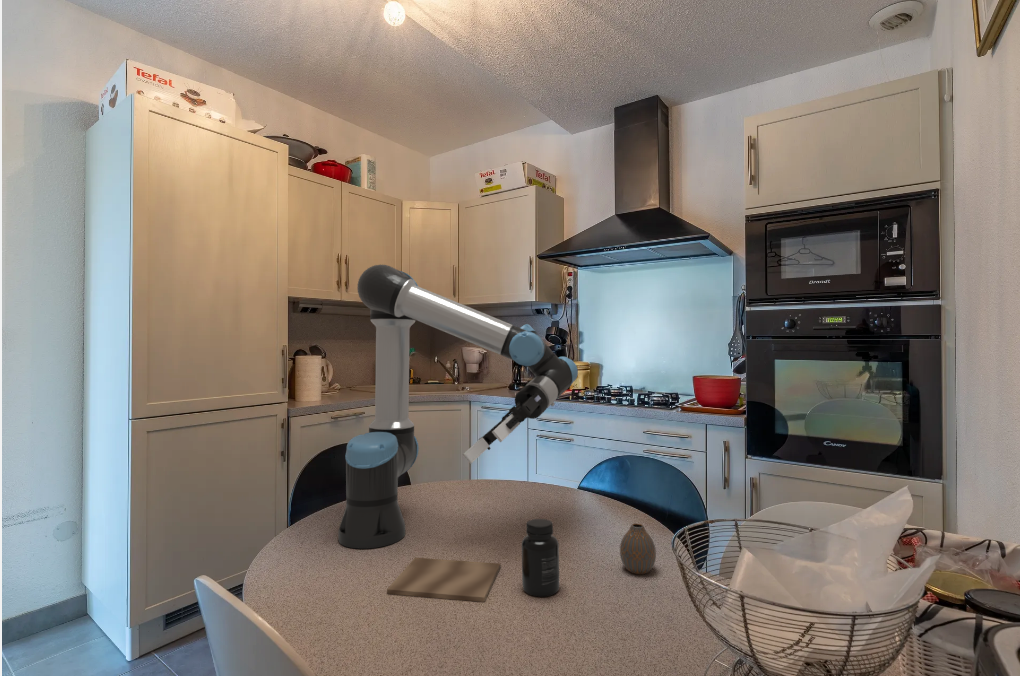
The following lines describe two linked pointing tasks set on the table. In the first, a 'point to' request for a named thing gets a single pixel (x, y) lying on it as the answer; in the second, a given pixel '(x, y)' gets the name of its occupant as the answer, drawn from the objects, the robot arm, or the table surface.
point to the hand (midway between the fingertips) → (481, 448)
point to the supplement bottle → (540, 559)
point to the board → (446, 579)
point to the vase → (637, 550)
